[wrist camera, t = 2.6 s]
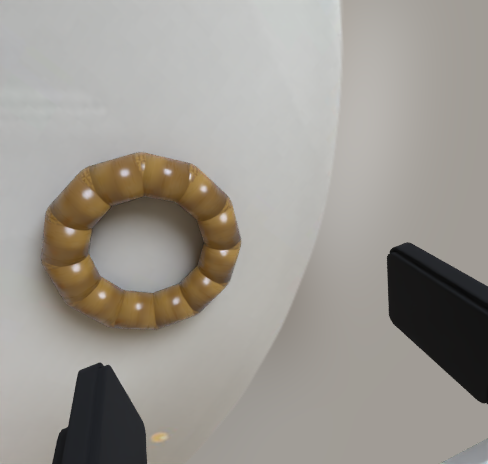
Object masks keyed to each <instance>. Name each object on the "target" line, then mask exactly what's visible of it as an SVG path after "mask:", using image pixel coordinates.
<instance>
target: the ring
mask: <svg viewBox="0 0 488 464" xmlns="http://www.w3.org/2000/svg"><path fill="white" fill-rule="evenodd" d="M143 196H146V197H151V198H156V199H162V200H167V201H172V202H176V203H177V204H178V205H180V206H181V207H182V208H183V209H184V210H186V211H187V212H188V213H189V214H190V215H192V216H193V217H194V218H195V219H196V220H197V222H198V225H199V229H200V232H201V235H202V238H203V241H204V244H203V248H202V251H201V255H200V259H199V263H198V265H197V266H196V267H195V268H194V269H193V270H192V272H191V273H190V274H189V275H188V276H187V277H186V278H185V279H184V280H183V281H182V282H181V283H180V284H177V285H174V286H171V287H168V288H166V289H163V290H160V291H157V292H154V293H147V292H136V291H124V290H122V289H121V288H119V287H117V286H116V285H114V284H112V283H111V282H109V281H108V280H106V279H104V278H103V277H101V276H100V275H99V273H98V271H97V269H96V267H95V265H94V263H93V261H92V259H91V257H90V255H89V246H90V239H91V233H92V227H93V226H94V225H95V224H96V223H97V222H98V221H99V220H100V219H101V218H102V217H103V216H104V214H105V213H106V212H107V211H108V210H109V209H110V208H111V207H112V206H114V205H117V204H120V203H124V202H127V201H130V200H133V199H137V198H140V197H143ZM240 247H241V237H240V233H239V229H238V225H237V221H236V218H235V214H234V210H233V206H232V203H231V200H230V198H229V197H228V196H227V195H226V194H225V193H224V192H223V191H222V190H221V189H220V188H219V187H218V186H217V185H216V184H215V183H213V182H212V181H211V180H210V179H209V178H208V177H207V176H206V175H205V174H204V173H203V172H202V171H201V170H200V169H199V168H197V167H196V166H195V165H193V164H190V163H186V162H182V161H178V160H174V159H169V158H165V157H161V156H156V155H152V154H148V153H142V152H138V153H133V154H130V155H127V156H123V157H120V158H116V159H113V160H109V161H106V162H102V163H99V164H95V165H92V166H89V167H86V168H85V169H83V170H82V171H81V172H80V173H79V174H78V175H77V176H76V177H75V178H74V179H73V180H72V181H71V182H70V184H69V185H68V186H67V187H66V188H65V189H64V190H63V191H62V192H61V194H60V195H59V196H58V197H57V198H56V199H55V200H54V201H53V202H52V203H51V205H50V206H49V207H48V209H47V211H46V214H45V223H44V233H43V243H42V253H41V261H42V265H43V267H44V269H45V270H46V272H47V273H48V275H49V277H50V278H51V280H52V282H53V283H54V285H55V287H56V288H57V290H58V292H59V293H60V295H61V297H62V298H63V300H64V301H65V303H66V304H67V305H68V306H70V307H72V308H73V309H75V310H77V311H79V312H81V313H83V314H85V315H87V316H88V317H90V318H92V319H94V320H96V321H98V322H100V323H102V324H103V325H105V326H108V327H112V328H128V329H149V330H155V329H160V328H163V327H165V326H168V325H171V324H173V323H176V322H179V321H181V320H184V319H187V318H189V317H192V316H195V315H197V314H198V313H200V312H201V311H202V310H203V309H204V308H205V307H206V306H207V305H208V304H209V303H210V302H211V301H212V300H213V299H214V298H215V297H216V296H217V295H218V294H219V293H220V292H221V291H222V290H223V289H224V288H225V287H226V286H227V285H228V283H229V282H230V279H231V276H232V273H233V270H234V266H235V263H236V260H237V257H238V253H239V250H240Z"/></svg>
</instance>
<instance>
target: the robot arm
mask: <svg viewBox="0 0 488 464" xmlns="http://www.w3.org/2000/svg"><path fill="white" fill-rule="evenodd" d="M387 269H388V270H387V272H388V300H389V316H390V319H391V321H392V322H393V324H394V325H395V326H396V327H397V328H399V329H400V330H401V331H402V332H403V333H404V334H405V335H406V336H407V337H408V338H410V339H411V340H412V341H413V342H414V343H415V344H416V345H417V346H418V347H419V348H421V349H422V350H423V351H424V352H425V353H426V354H427V355H428V356H429V357H430V358H432V359H433V360H434V361H435V362H436V363H437V364H438V365H439V366H440V367H441V368H443V369H444V370H445V371H446V372H447V373H448V374H449V375H450V376H451V377H453V379H455V380H456V381H457V382H458V383H459V384H460V385H461V386H462V387H463V388H464V389H466V390H467V391H468V392H469V393H470V394H471V395H472V396H473V397H474V398H475V399H477V400H478V401H480V402H481V403H487V404H488V286H486V285H484V284H482V283H480V282H479V281H477V280H475V279H474V278H472V277H470V276H468V275H466V274H465V273H463V272H461V271H459V270H458V269H456V268H454V267H452V266H451V265H449V264H447V263H445V262H443V261H441V260H440V259H438V258H436V257H435V256H433V255H431V254H429V253H427V252H426V251H424V250H422V249H420V248H419V247H417V246H415V245H413V244H411V243H404V244H402V245H399V246H396V247H394V248H392V249H391V250H390V254H388V256H387ZM52 464H147V454H146V433H145V427H144V424H143V421H142V419H141V417H140V416H139V414H138V412H137V411H136V409H135V407H134V405H133V404H132V402H131V400H130V399H129V397H128V395H127V393H126V392H125V390H124V388H123V387H122V385H121V383H120V381H119V380H118V378H117V376H116V375H115V373H114V371H113V369H112V368H111V366H110V365H106V366H103V364H102V363H97V364H95V365H92V366H90V367H87V368H84V369H82V370H80V371H79V372H78V376H77V381H76V387H75V392H74V398H73V403H72V409H71V414H70V419H69V425H68V427H67V428H65V429H62V430H61V432H60V433H59V436H58V439H57V444H56V448H55V453H54V458H53V463H52ZM440 464H488V439H486V440H484V441H482V442H480V443H478V444H476V445H474V446H472V447H471V448H468V449H467V450H465V451H463V452H461V453H459V454H457V455H455V456H453V457H451V458H450V459H448V460H446V461H444V462H442V463H440Z"/></svg>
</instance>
